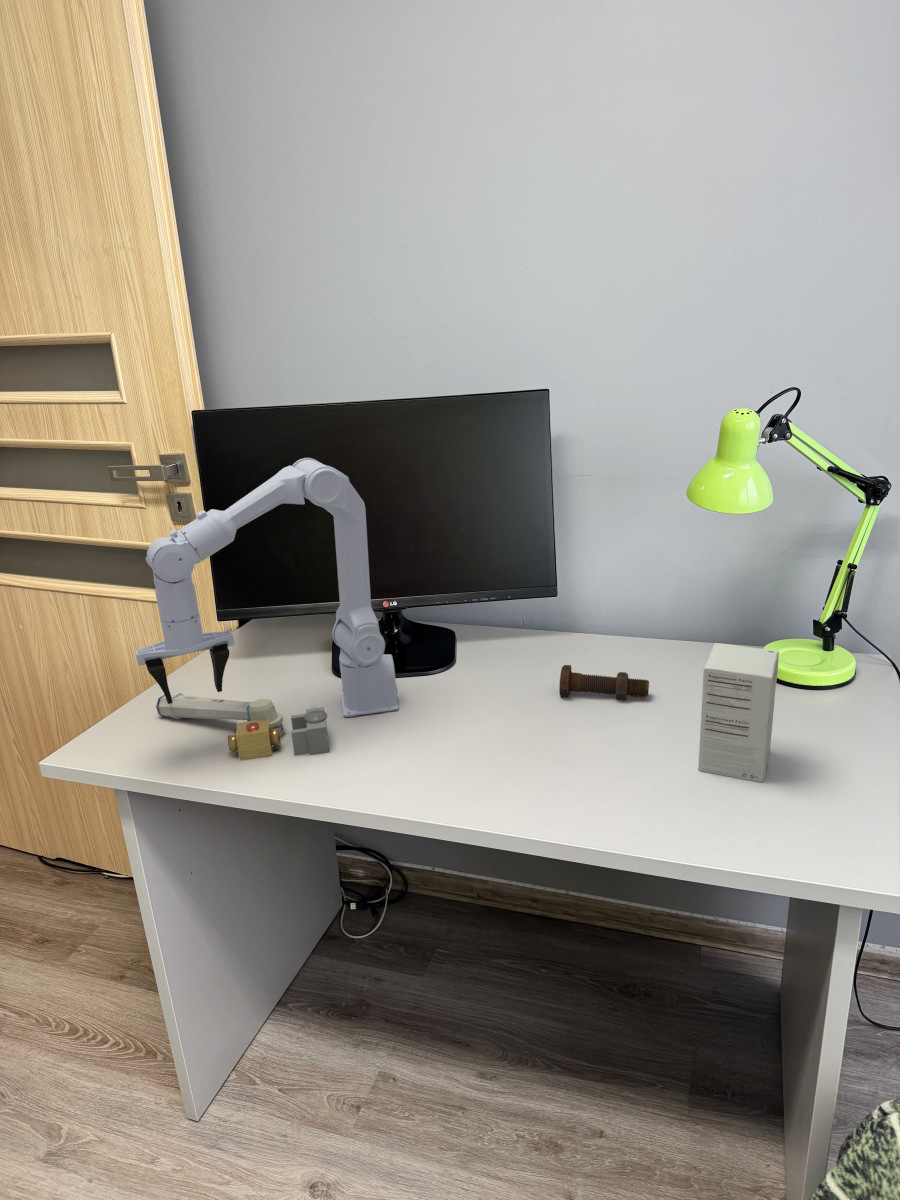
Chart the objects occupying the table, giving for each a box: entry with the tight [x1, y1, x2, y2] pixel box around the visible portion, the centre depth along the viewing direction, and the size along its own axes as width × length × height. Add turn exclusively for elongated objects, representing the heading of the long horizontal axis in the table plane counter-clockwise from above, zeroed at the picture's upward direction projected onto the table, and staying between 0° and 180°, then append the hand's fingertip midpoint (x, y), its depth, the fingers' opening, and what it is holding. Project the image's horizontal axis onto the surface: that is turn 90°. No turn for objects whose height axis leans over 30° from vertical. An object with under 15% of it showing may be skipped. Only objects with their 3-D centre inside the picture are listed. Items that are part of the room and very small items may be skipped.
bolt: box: [558, 664, 650, 702], centre depth 144 cm, size 6×5×15 cm
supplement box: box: [697, 642, 780, 783], centre depth 120 cm, size 10×9×17 cm
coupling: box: [290, 706, 330, 756], centre depth 134 cm, size 6×7×5 cm
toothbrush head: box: [155, 692, 285, 736], centre depth 142 cm, size 5×7×25 cm
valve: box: [227, 719, 282, 762], centre depth 133 cm, size 8×4×5 cm, turn 100°
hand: (194, 695), depth 132 cm, fingers open, 7 cm apart
